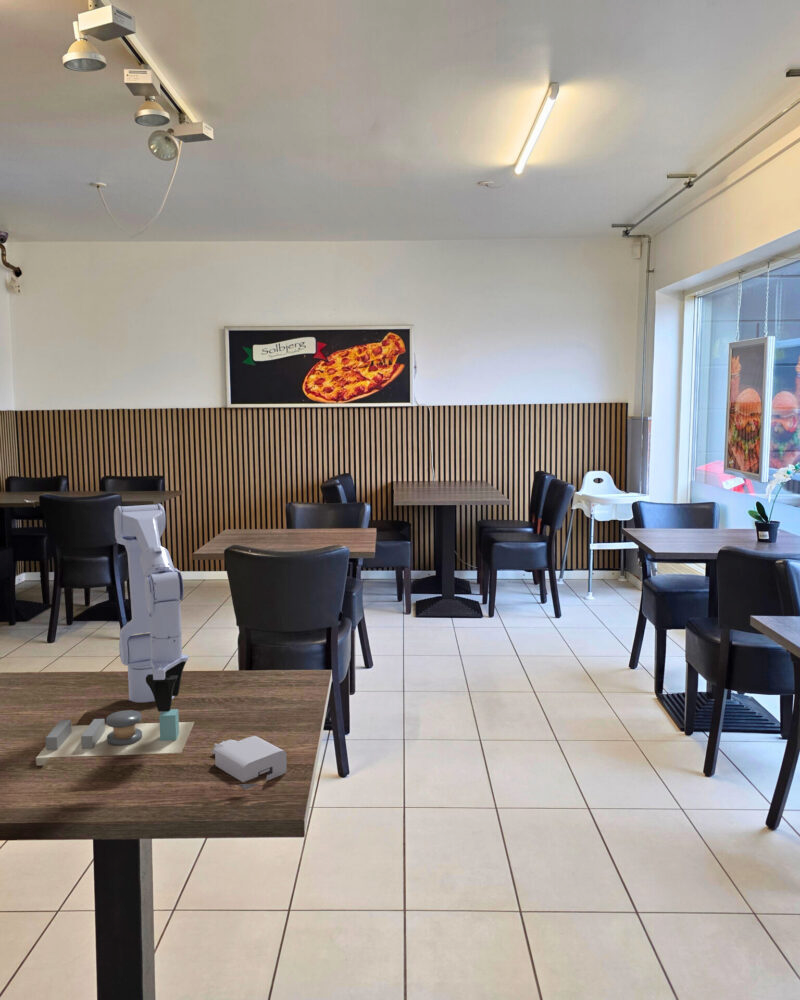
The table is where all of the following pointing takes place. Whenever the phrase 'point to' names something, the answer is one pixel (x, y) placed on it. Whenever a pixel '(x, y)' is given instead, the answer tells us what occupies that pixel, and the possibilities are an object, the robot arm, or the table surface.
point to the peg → (169, 725)
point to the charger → (250, 759)
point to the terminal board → (144, 746)
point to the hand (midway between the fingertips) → (168, 703)
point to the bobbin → (124, 728)
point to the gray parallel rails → (64, 730)
